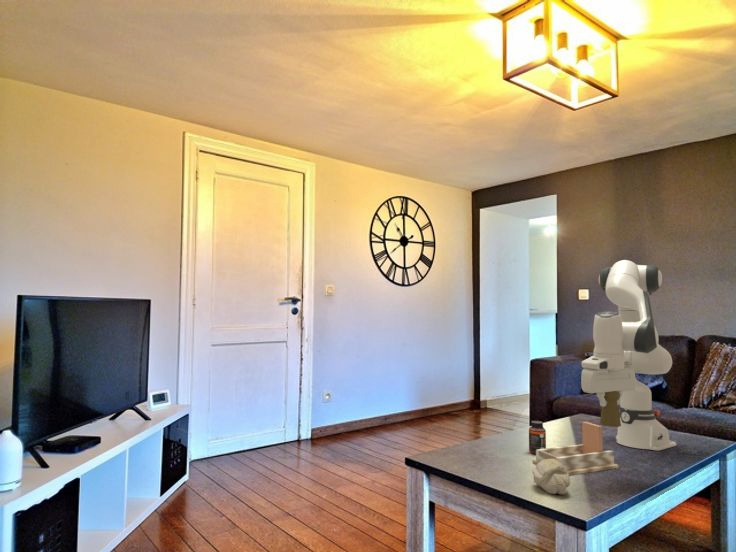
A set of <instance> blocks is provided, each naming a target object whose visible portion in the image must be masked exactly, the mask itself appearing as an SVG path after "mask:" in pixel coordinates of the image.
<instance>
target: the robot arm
mask: <svg viewBox="0 0 736 552" xmlns="http://www.w3.org/2000/svg"><path fill="white" fill-rule="evenodd" d="M662 283H663V275H662V272H661V269H660V267H658V266H657V265H653V264H647V265H643V264H636V263H635V262H633V261H631V260H628V259H622V260H619V261H617V262H615V263H613V265H612V266H607V267H604V268H602V269H601V270H600V272H599V276H598V284H599V286H600V289H601V290H602V291H603V292H605V295H606V297H607V299H608V300H609V301H610V302H611V303H612V304H614V305H616V306H617V307H618V309H617V310H618V312H617V311H610V310H609V311H608V310H607V311H606V310H605V311H600V312H599V311H598V312H597V313H595V314H594V317H593V318H594V319H593V325H592V326H593V327H592V342H593V343H594V348H593V355H591V356H590V357H588V358H586V359H584V360H582V361H581V368H583V369H582V370H581V376H580V378H581V379H580V381H581V382H580V384H581V385H580V386H581V389H582V391H583V393H587V394H596V396H597V399H598V400H599V406H600V407H601V408H602V407H606V406H607V405H608V404H607V403H608V401H606V400H605V398H604V396H605V392H612V391H617V392H618V394H619V398H618V400H617V404H618V410H619V416H620V422H621V426H620V427H617V435H615V440H616V443H618V444H619V445H622V446H625V447H629V448H632V449H633V448H634V449H642V450H653V451H662V450H666V449H670V448H673V447H676V446H678V445H677V442H676V441H673V440H670V434H669V430H668V428H667V427H666V426H664V425H663V424H662V423H661V422H659V421H658V420H657V418H656V416H660V415H661V414H660V413H661V411H660V410H657V409H653V408H652V407H653V405H652V399H653V398H652V390H651V389H650V387H649V386H647V385H646V384H644V383H643V382H641V381H639V380H638V379H637V378H636V374H641V375H642V374H643V375H664V374H667V373H669V371H670V370H671V368H672V366H673V359H672V357H673V356H672V355H671V353H670V352H669V351H668V350H667V349H666V348H664V347H663V346H662V345H660V344H659V340H660V339H659V334H658V330H657V328H656V325H655V322H654V321H655V320H654V319H655V318H654V314H653V309H652V303H651V299H650V296H652V294H653V293H655V292H657V291H658V290H659V289H660V288H661V286H662Z"/></svg>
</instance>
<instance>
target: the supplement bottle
mask: <svg viewBox="0 0 736 552" xmlns="http://www.w3.org/2000/svg"><path fill="white" fill-rule="evenodd" d="M546 448H547V432H546V428H545V427H544V424H543V421H539V420H531V425H530V427H528V451H529V453H530V454H532V455H536V450H537V449H546Z"/></svg>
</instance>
